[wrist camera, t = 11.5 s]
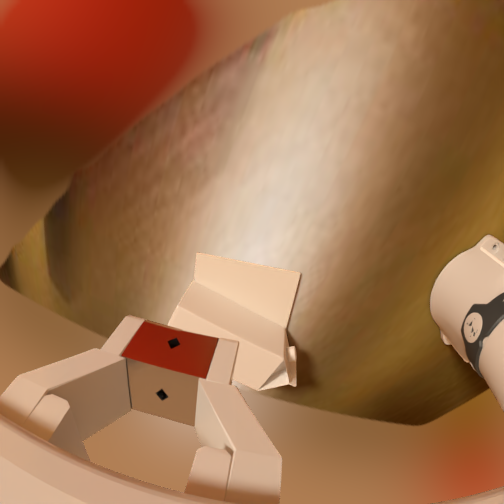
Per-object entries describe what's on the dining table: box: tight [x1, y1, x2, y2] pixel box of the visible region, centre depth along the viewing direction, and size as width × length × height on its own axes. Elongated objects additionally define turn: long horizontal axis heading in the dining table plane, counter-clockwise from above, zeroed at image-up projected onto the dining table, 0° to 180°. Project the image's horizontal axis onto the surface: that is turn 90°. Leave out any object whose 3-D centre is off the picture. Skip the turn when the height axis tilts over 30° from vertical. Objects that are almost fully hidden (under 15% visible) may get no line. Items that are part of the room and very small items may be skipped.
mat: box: [194, 252, 301, 329], centre depth 46 cm, size 14×13×1 cm
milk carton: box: [167, 280, 297, 391], centre depth 44 cm, size 7×7×19 cm
